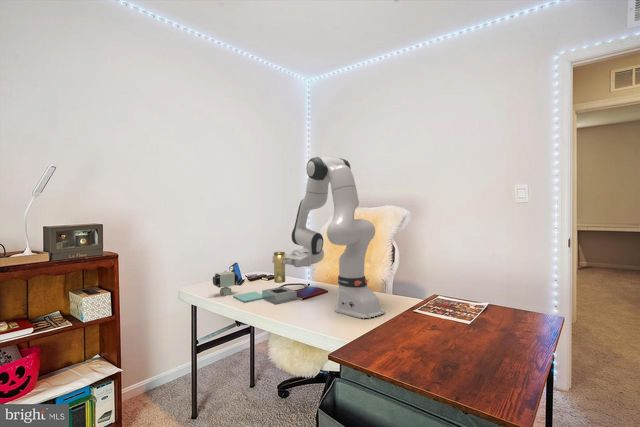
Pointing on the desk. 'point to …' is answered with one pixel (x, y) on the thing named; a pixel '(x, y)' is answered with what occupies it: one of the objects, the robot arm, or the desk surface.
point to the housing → (279, 295)
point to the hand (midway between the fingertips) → (278, 261)
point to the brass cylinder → (279, 267)
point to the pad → (248, 297)
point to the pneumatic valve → (225, 281)
